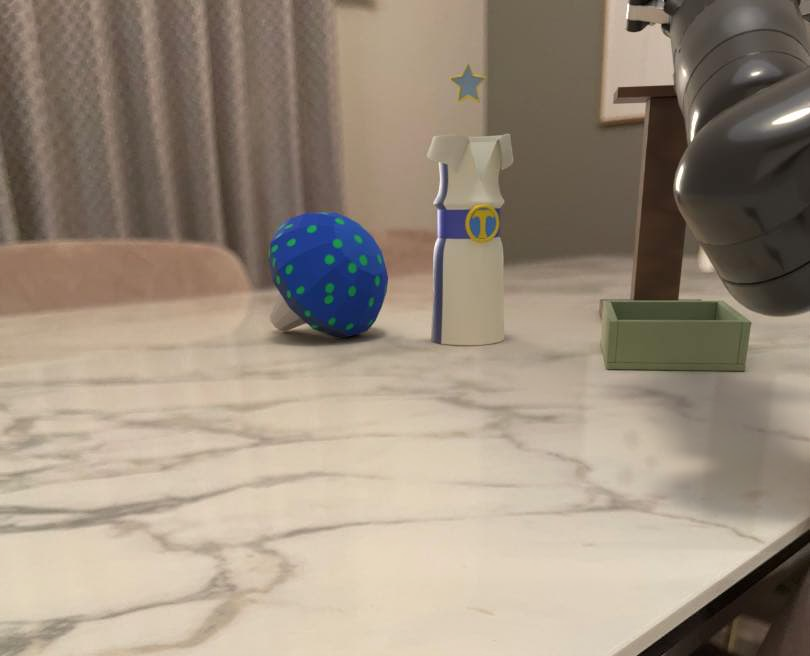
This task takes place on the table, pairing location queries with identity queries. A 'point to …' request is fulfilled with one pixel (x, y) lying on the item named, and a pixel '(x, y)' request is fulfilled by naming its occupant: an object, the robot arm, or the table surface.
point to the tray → (674, 335)
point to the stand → (657, 196)
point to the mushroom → (326, 275)
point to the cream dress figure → (469, 232)
